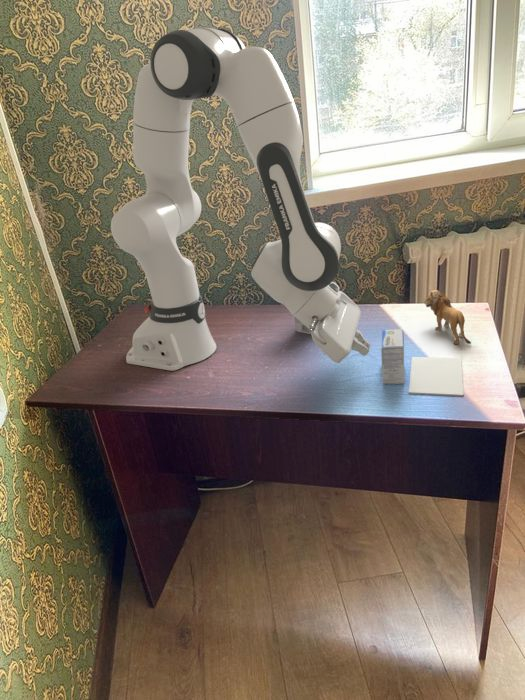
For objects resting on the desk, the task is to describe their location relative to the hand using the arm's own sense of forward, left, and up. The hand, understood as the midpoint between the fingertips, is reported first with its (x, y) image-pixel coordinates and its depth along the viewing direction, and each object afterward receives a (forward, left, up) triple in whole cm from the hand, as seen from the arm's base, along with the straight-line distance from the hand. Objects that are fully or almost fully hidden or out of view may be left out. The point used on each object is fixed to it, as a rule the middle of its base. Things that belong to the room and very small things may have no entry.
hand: (367, 350), depth 111 cm
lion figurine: (+16, +19, -6) cm, 26 cm away
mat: (+14, 0, -6) cm, 15 cm away
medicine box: (+5, 0, -6) cm, 8 cm away
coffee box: (-16, +22, -6) cm, 28 cm away
